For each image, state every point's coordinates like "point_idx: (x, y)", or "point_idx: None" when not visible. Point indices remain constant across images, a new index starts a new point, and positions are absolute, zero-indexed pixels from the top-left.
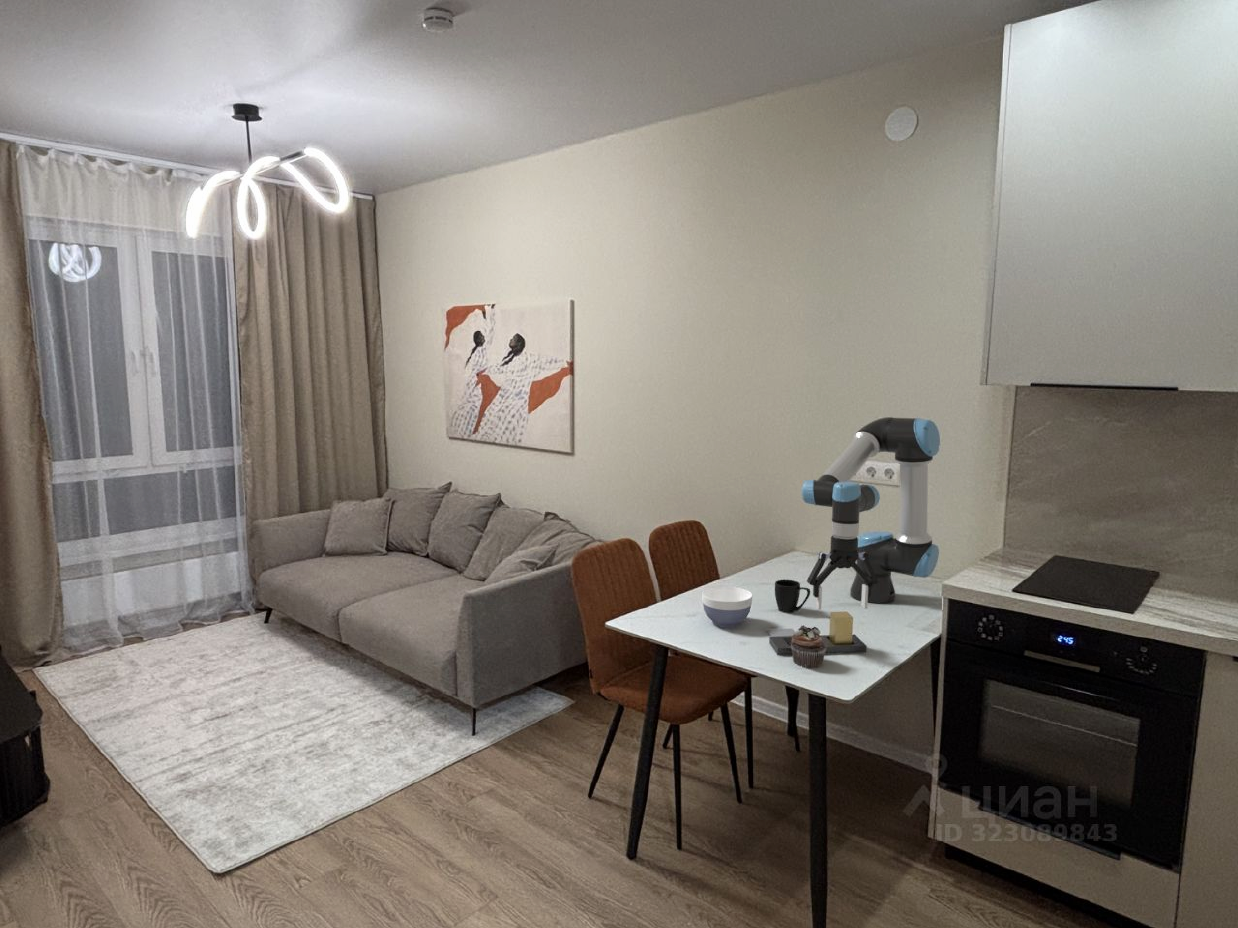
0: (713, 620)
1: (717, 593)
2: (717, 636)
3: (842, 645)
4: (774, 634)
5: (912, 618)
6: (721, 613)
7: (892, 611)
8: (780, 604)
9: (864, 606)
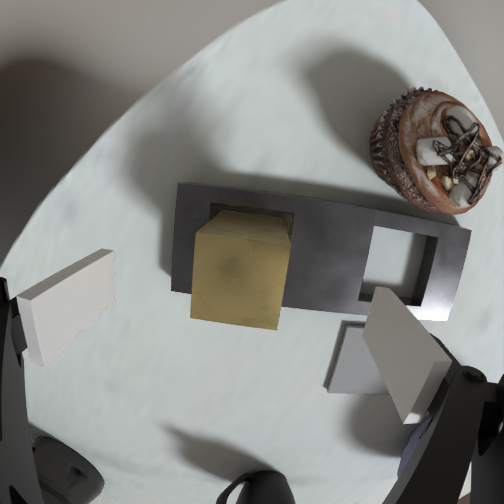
0: None
1: None
2: (498, 361)
3: (263, 201)
4: None
5: None
6: None
7: (42, 407)
8: (289, 488)
9: (109, 258)
